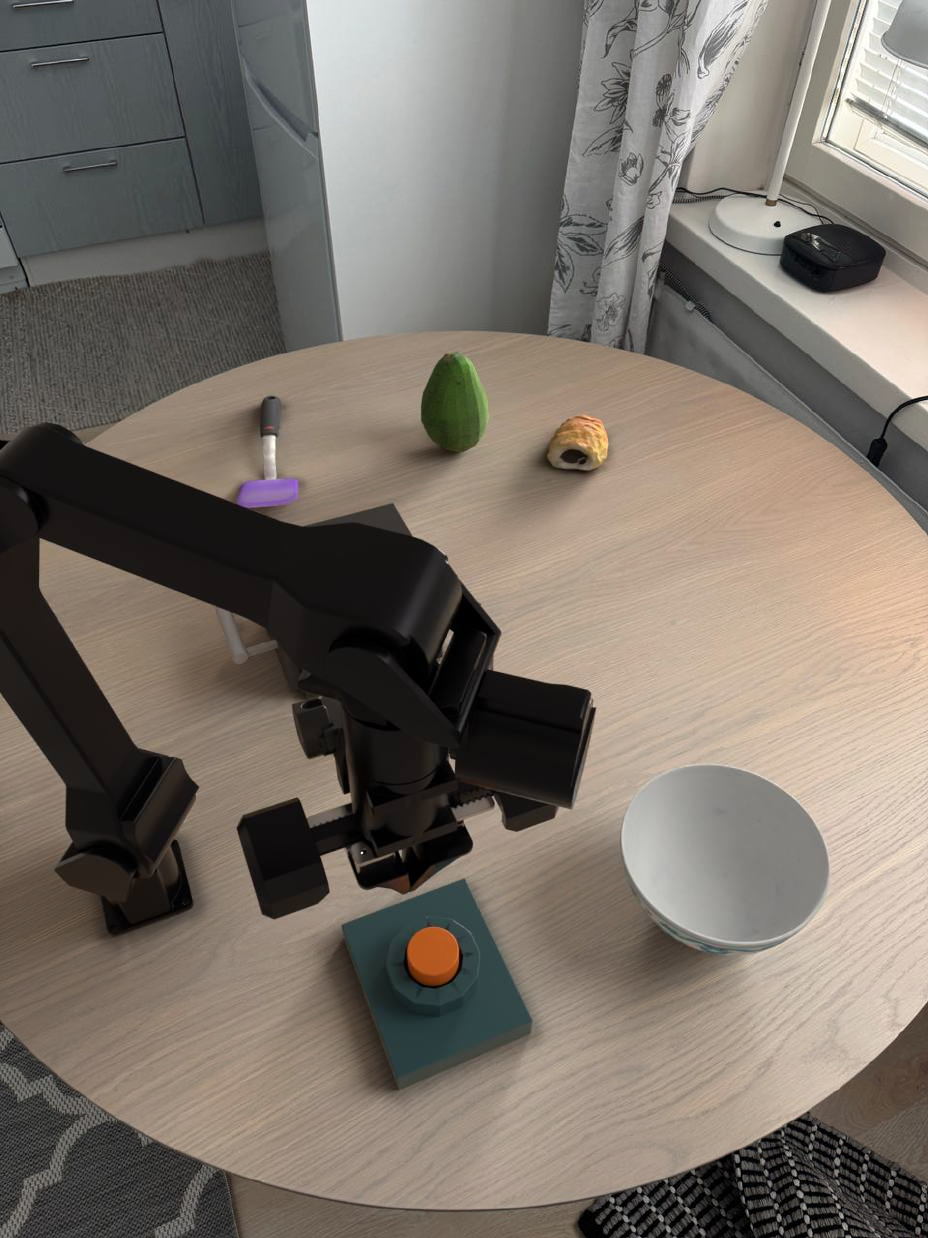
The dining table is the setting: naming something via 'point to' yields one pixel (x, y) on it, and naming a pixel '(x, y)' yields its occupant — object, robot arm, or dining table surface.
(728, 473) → the dining table surface
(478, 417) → the avocado
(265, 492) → the spatula
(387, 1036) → the block
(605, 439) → the pastry
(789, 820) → the chinaware
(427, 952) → the button
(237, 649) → the drawer
